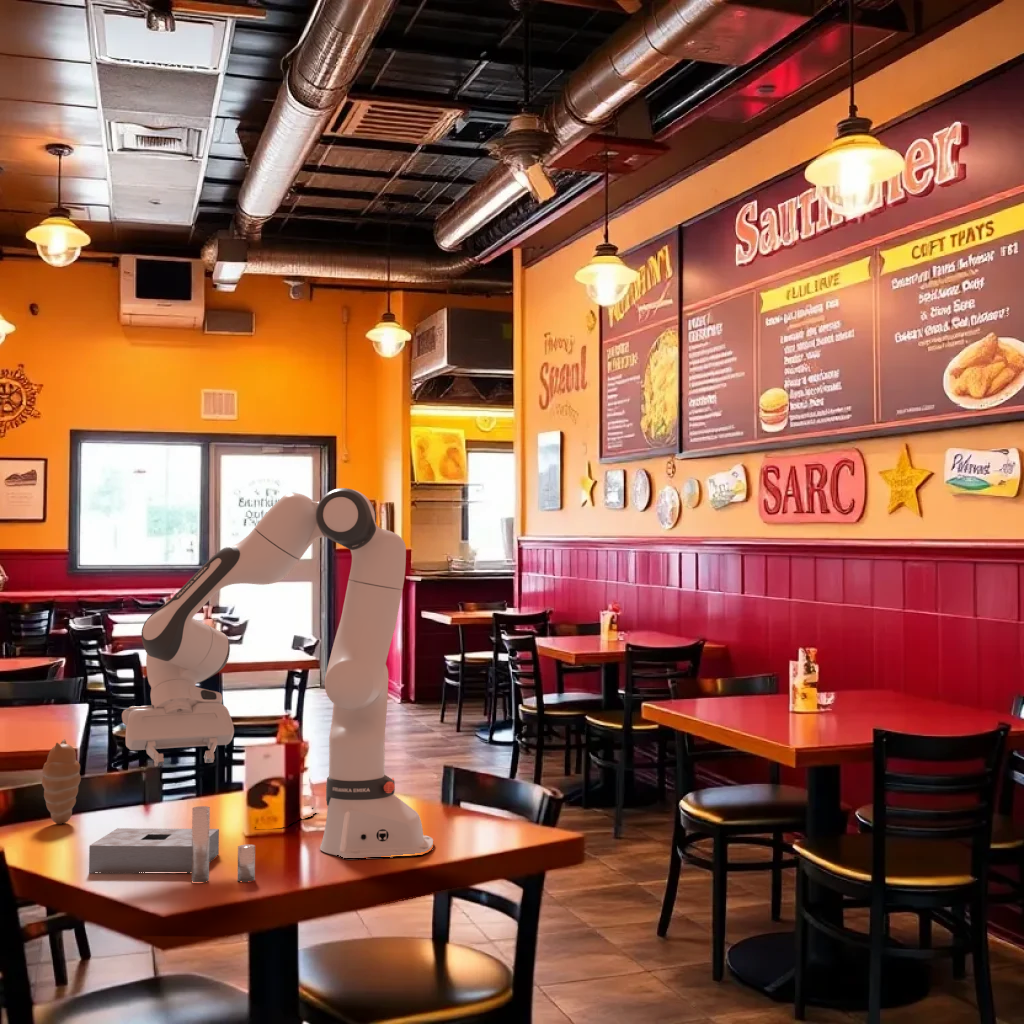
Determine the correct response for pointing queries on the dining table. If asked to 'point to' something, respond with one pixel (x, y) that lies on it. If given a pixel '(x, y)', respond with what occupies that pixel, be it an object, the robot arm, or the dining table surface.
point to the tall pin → (200, 843)
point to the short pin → (246, 863)
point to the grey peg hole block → (147, 851)
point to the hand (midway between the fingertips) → (185, 762)
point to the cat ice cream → (61, 781)
